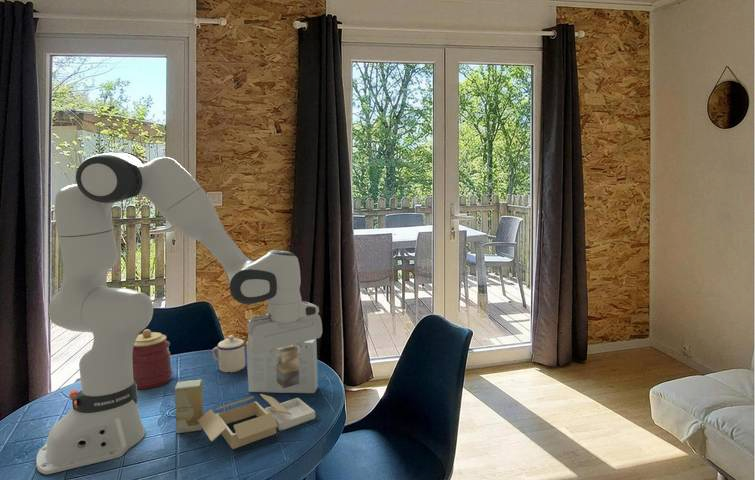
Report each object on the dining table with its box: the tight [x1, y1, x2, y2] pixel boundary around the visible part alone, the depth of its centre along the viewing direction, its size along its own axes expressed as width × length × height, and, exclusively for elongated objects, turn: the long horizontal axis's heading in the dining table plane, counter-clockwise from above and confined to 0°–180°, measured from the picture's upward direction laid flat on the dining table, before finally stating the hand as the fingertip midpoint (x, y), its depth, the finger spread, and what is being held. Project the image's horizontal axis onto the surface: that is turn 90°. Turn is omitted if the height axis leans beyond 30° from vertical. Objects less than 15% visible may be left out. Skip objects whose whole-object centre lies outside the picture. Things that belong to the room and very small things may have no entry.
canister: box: [132, 328, 173, 390], centre depth 145 cm, size 13×13×18 cm
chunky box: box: [276, 345, 299, 388], centre depth 119 cm, size 4×4×10 cm
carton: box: [197, 393, 291, 450], centre depth 114 cm, size 20×19×6 cm
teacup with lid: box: [211, 334, 246, 373], centre depth 155 cm, size 12×9×12 cm
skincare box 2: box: [245, 339, 319, 394], centre depth 137 cm, size 21×6×16 cm, turn 84°
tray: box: [263, 397, 316, 432], centre depth 121 cm, size 10×10×2 cm
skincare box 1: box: [174, 379, 204, 434], centre depth 116 cm, size 6×4×12 cm
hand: (287, 360), depth 119 cm, fingers closed on chunky box, 4 cm apart
